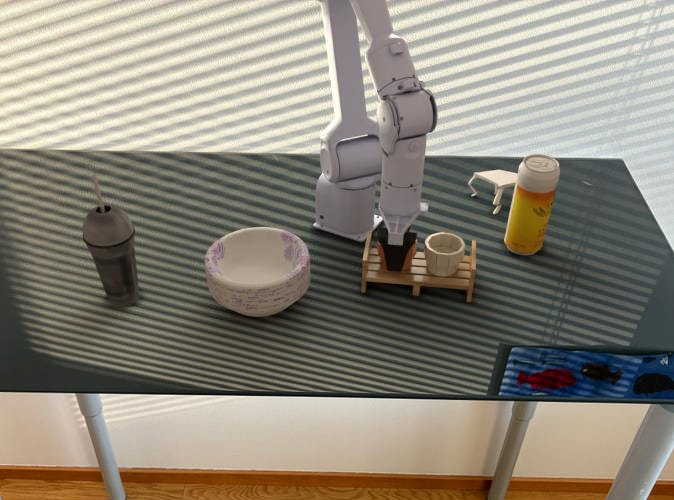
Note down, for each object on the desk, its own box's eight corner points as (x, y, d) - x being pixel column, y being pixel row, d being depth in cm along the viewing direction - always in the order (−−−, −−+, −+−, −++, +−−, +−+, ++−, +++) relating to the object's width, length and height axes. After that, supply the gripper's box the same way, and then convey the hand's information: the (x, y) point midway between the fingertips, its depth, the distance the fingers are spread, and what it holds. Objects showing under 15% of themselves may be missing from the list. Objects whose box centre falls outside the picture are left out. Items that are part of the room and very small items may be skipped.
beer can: (541, 259, 121) (562, 175, 111) (502, 254, 122) (519, 170, 112) (541, 238, 126) (561, 155, 116) (503, 233, 127) (520, 151, 116)
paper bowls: (197, 281, 118) (190, 238, 112) (288, 258, 122) (286, 215, 117) (228, 342, 108) (222, 298, 102) (326, 314, 112) (326, 270, 106)
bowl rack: (366, 263, 121) (368, 231, 117) (471, 271, 119) (476, 239, 115) (361, 292, 116) (362, 260, 111) (470, 302, 114) (476, 269, 110)
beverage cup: (107, 318, 112) (76, 199, 98) (93, 291, 116) (62, 173, 103) (154, 303, 114) (131, 185, 100) (139, 277, 119) (115, 161, 105)
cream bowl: (416, 273, 114) (418, 248, 111) (432, 252, 118) (435, 228, 115) (452, 284, 112) (455, 259, 109) (467, 263, 116) (470, 238, 113)
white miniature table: (474, 217, 130) (478, 192, 127) (465, 191, 136) (469, 166, 133) (544, 215, 131) (549, 190, 127) (532, 190, 137) (537, 165, 133)
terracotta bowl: (369, 268, 115) (371, 244, 112) (387, 249, 119) (388, 224, 116) (404, 280, 113) (406, 255, 110) (420, 259, 117) (423, 234, 114)
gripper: (428, 207, 100) (419, 289, 109) (433, 153, 110) (425, 232, 120) (374, 203, 101) (370, 285, 110) (384, 150, 111) (380, 229, 120)
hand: (396, 257), depth 115 cm, fingers closed on terracotta bowl, 5 cm apart
